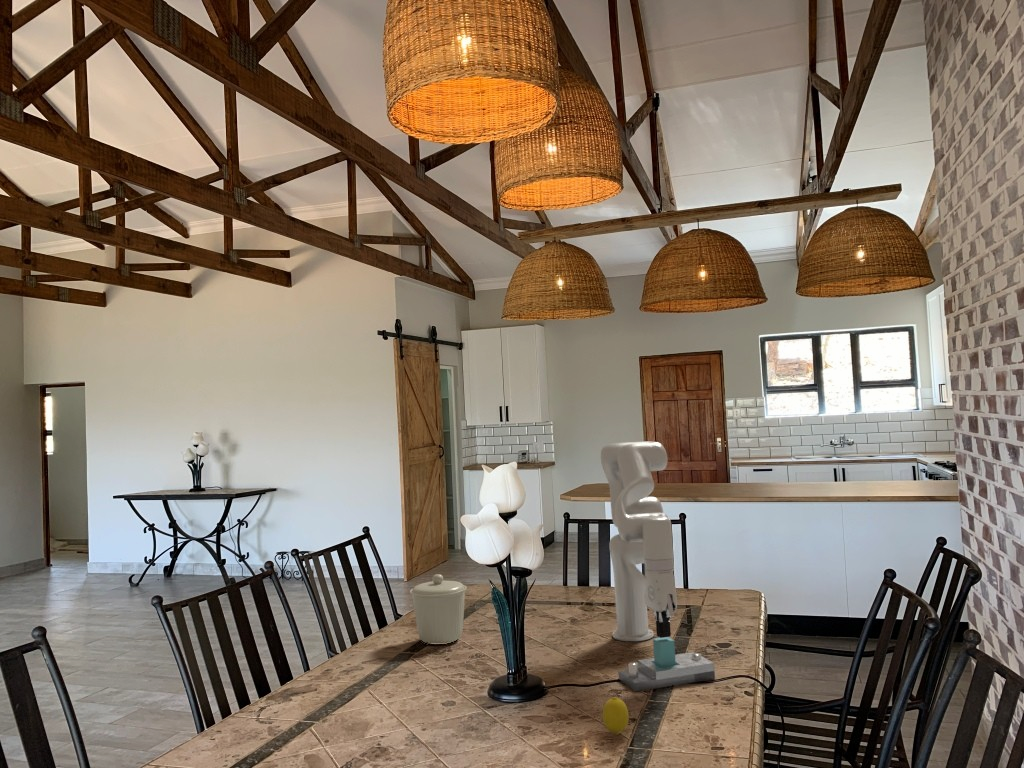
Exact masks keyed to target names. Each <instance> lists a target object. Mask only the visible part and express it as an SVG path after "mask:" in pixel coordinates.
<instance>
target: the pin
mask: <svg viewBox="0 0 1024 768" xmlns="http://www.w3.org/2000/svg"><path fill="white" fill-rule="evenodd" d="M652 643H653V644H652V645H653V658H654V662H655V665H657V666H659V667H660V668H661V667H668V666H675V665H676V661H675V655H676V650H675V649H676V646H675V640H674V639H673V638H671V637H664V638H660V637H655V638H653V639H652Z"/></svg>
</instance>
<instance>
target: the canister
mask: <svg viewBox="0 0 1024 768" xmlns="http://www.w3.org/2000/svg"><path fill="white" fill-rule="evenodd" d="M431 580H432V581H427V582H422V583H419V584H416V585H415V586H414V587H413V588H411V589H410V590H409V593H410V595H411V597H412V604H413V610H414V616H415V622H416V623H415V624H416V627H417V632H418V633H417V634H418V637H419V640H420V639H421V640H422V641H424V642H428V643H447V642H452V641H455V640H457V639H459V638H460V639H461V637H462V634H463V627H464V617H465V615H464V614H465V613H464V612H465V596H466V595H465V594H466V593H465V592H466V591H467V589H468V588H467V585H465V584H463V583H462V582H460V581H456V580H444V576H443V575H442V574H439V573H436V574H434V575H433V576H432V577H431ZM460 639H459V640H460ZM421 640H420V641H421ZM422 641H421V642H422ZM457 641H458V640H457Z"/></svg>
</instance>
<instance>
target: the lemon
mask: <svg viewBox="0 0 1024 768" xmlns="http://www.w3.org/2000/svg"><path fill="white" fill-rule="evenodd" d="M629 716H630V715H629V710H628V707H627V705H626V703H625V702H624V701H623V700H622V699H621V698H617V696H613V697H612V698H609V699H608V700H606V702H605V703H604V706H603V709H602V721H603V725H604V727H605V728H606V729H607V731H609V732H610V733H611V732H612V733H613V734H614V735H615V736H618V735H619V734H620V733H622V732H623V731H625V730H626V728H627V727H628V725H629V718H630V717H629Z"/></svg>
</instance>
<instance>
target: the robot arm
mask: <svg viewBox="0 0 1024 768" xmlns="http://www.w3.org/2000/svg"><path fill="white" fill-rule="evenodd" d="M668 460H669V459H668V454H667V451H666V449H665V447H664V445H663V444H662V443H660V442H658V441H654V440H653V441H652V440H651V441H649V440H648V441H629V442H626V441H624V442H615V443H609V444H606V445H604V446H602V448H601V450H600V462H601V467H602V470H603V472H604V474H605V477H606V479H607V482H608V487H609V498H610V509H611V510H610V512H611V519H612V523H613V525H614V526H615V527H616V528H617V531H618V534H615V535H613V536H612V537H611V538H610V540H609V548H608V549H609V553H610V559H611V563H612V564H611V565H612V570H613V581H614V583H613V584H614V597H615V610H616V611H615V612H616V625H617V626H616V629H615V630H613V631H612V637H613V639H615V640H618V641H621V642H622V641H624V642H642V641H647V640H650V639H652V638H653V637H654V636H655V633H654V631H653V630H652V629H651V628H649V619H648V618H649V617H648V608H649V609H650V610H652V611H653V613H654V619H655V628H656V629H655V630H656V637H657V638H664V637H669V638H671V634H672V632H671V618H673V617H675V613H674V611H676V610H677V608H678V601H677V600H678V599H677V598H678V597H677V588H676V579H675V576H674V572H675V564H674V563H675V561H674V546H673V531H672V529H673V528H672V521H671V519H670V518H669V517H668V515H667V514H666V513H665V512H664V509H663V506H662V503H661V501H660V500H659V499H658V498H657V497H655V496H650V494H651V493H653V492H654V489H655V481H654V479H653V476H652V472H659V471H664V470H666V468H667V466H668ZM641 564H644V574H643V572H642V571H641V570H640V569H639V568H638V567H637V565H641Z"/></svg>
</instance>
